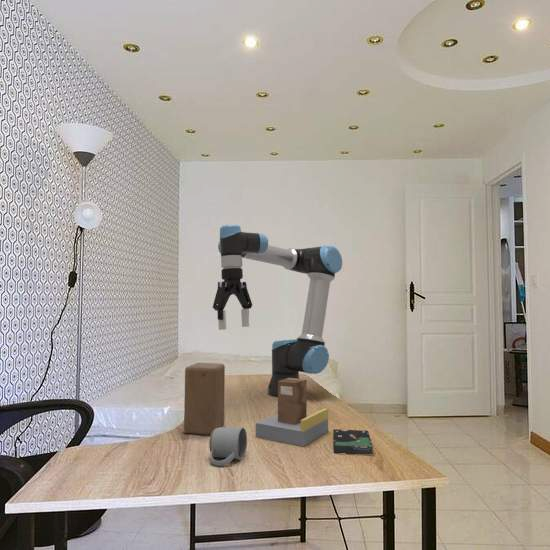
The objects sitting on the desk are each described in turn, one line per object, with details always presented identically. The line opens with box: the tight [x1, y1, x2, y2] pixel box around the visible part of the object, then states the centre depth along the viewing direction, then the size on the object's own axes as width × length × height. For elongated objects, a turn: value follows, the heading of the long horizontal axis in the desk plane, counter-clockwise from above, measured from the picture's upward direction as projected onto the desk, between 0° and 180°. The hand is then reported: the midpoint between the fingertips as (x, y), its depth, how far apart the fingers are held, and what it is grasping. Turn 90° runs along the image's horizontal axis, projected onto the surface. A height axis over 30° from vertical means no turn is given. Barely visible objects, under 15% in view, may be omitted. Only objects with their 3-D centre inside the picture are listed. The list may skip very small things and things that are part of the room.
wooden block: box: [183, 362, 226, 436], centre depth 135 cm, size 10×10×20 cm
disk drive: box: [332, 428, 374, 455], centre depth 121 cm, size 10×3×15 cm
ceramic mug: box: [208, 426, 248, 467], centre depth 110 cm, size 11×8×8 cm
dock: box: [255, 407, 329, 447], centre depth 131 cm, size 16×16×7 cm
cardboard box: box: [277, 378, 308, 425], centre depth 131 cm, size 7×6×12 cm
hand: (234, 328), depth 154 cm, fingers open, 13 cm apart
